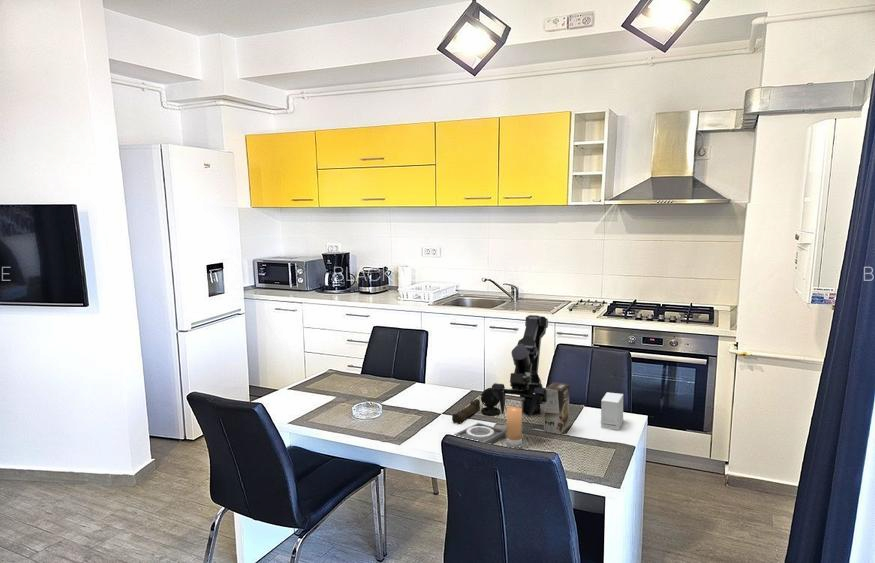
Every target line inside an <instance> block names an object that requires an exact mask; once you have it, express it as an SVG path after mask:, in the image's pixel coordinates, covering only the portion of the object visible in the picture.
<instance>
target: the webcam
mask: <svg viewBox="0 0 875 563" xmlns="http://www.w3.org/2000/svg"><path fill="white" fill-rule="evenodd" d="M491 389H492V387H487V388H485V389H484V390H483V391H482V393H481V395H480V401H481V404H482V405H483V406H484V407H482V409H480V413H481V414H482V415H485V416H488V417H489V416H492V417H493V416H498V415H500V413H501V408H499V407H496V406H498V405H499V404H500V400H498V399H497V398H496V397H494V396H493V393H492V390H491Z"/></svg>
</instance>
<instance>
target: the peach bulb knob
mask: <svg viewBox="0 0 875 563" xmlns="http://www.w3.org/2000/svg"><path fill="white" fill-rule="evenodd" d="M522 429H523V411H522V408H521V406H518V405H509V406H507V407H506V447H507V446H509V447H514V448H518V449H521V448H522V447H519V446H521V445H522V444H523V443H522V442H523V439H522V438H523V437H522V436H523V435H522V434H523V432H522Z"/></svg>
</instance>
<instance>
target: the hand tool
mask: <svg viewBox="0 0 875 563" xmlns="http://www.w3.org/2000/svg"><path fill="white" fill-rule="evenodd" d="M480 401H481V400H480V399H478V398H477V399H474V400H471V401H470V403H469V405H467V406H465V407H464V408H462V409H461V410H459V411H458V412H456V413H453V414H452V416H451V421H452V422H453V423H455V424H457V425H459V424H461V423H463V421H464V420H465V419H467V418H469V417H470V416H471V415H472V414H477V413H478V412H479V410H481V409H480V408H481V402H480Z"/></svg>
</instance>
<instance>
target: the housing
mask: <svg viewBox="0 0 875 563" xmlns="http://www.w3.org/2000/svg"><path fill="white" fill-rule="evenodd" d="M454 435H456V436H460V437H464V438H468V439H473V440H478V441H481V442H485V443H491V445H493V444H494V443H496V442H498V441H500V440H502V439H504V438H505V436H506V437H507V430H504V429H500V428H497V427H496V426H495V427H494V426H491V425H488V424H485V423H480V422H477V423H475V424H472V425H471V426H468V427H467V428H465V429H462V430H460V431H459V432H455V433H454V434H453V436H454ZM503 437H504V438H503ZM501 438H502V439H501ZM499 439H500V440H499ZM497 440H498V441H497ZM495 441H496V442H495Z"/></svg>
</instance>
